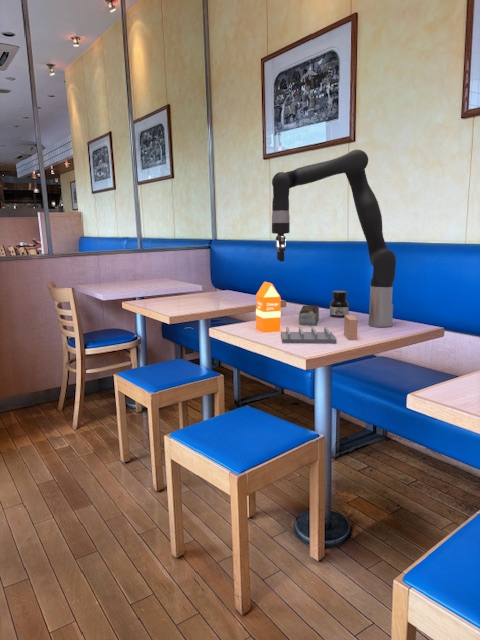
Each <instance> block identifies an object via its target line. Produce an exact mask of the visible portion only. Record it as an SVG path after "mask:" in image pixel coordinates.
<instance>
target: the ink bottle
mask: <svg viewBox="0 0 480 640" xmlns="http://www.w3.org/2000/svg"><path fill="white" fill-rule="evenodd" d="M347 299H348V291H346V290H332V301H330V302H329V316H330V317H331V318H344V317H345V315H350V314H349V313H350V312H349V310H350V304H349V302H348V301H347Z"/></svg>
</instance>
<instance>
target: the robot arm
mask: <svg viewBox="0 0 480 640" xmlns="http://www.w3.org/2000/svg"><path fill="white" fill-rule="evenodd" d="M368 163H369V157H368V154H367V153H366V152H365V151H364V150H362V149H353V150H351V151H349V152H348V153H346V154H344V155H342V156H339V157H336V158H333V159H329V160H326V161H321V162H317V163H313V164H308V165H304V166H302V167H298V168H296V169H293V170H290V171H286V172H284V171H279V172H277V173H276V174H275V175H273V177H272V180H271V185H272V203H271V204H272V209H271V210H272V212H271V233H272V234H277V235H276V237H275V247H276V248H275V249H276V260H277V261H279V262H285V252H286V247H287V246H286V241H287V238H286V236H285V235H286V234H290V229H291V228H290V224H291V223H290V222H291V221H290V218H291V215H290V200H289V197H290V189H291V188H294V187H297V186H304V185H307V184H312V183H315V182H317V181H321V180H323V179H326V178H330V177H332V176H336V175H341V174H345V176H346V179H347V181H348V184H349V185H350V189H351V193H352V198H353V202H354V206H355V210H356V214H357V217H358V221H359V224H360V227H361V230H362V232H363V235H364V238H365V240H366V241H365V242H366V246H367V250H368V256H369V262H370V264H371V266H372V267H373V268H372V277H371V279H370V287H369V288H370V289H369V290H370V293H369V309H368V325H369V326H370V327H375V328H388V327H393V314H394V313H393V312H394V304H393V285H394V281H395V278H396V265H397V258H396V254H395V253H394V252H393V251H392V250H390V249H388V246H387V243H386V241H385V238H384V233H383V218H382V217H383V216H382V211H381V209H380V206H379V201H378V199H377V198H376V197H377V196H376V195H375V193H374V191H373V190H372V188H371V186H370V185H369V182H368V178H367V173H366V168H367V166H368Z"/></svg>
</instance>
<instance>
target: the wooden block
mask: <svg viewBox="0 0 480 640" xmlns="http://www.w3.org/2000/svg"><path fill="white" fill-rule="evenodd" d="M343 318H344V323H343V335H344V337H346V339H347V340H348V341H358V319H357V317H355V316H354V315H353V314H348V315H345V317H343Z"/></svg>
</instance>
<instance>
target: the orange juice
mask: <svg viewBox="0 0 480 640" xmlns="http://www.w3.org/2000/svg"><path fill="white" fill-rule="evenodd" d="M281 302H282V299H281V295H280V294H279V293H278V290H276V288H275V285H274V284H273V283H271V282H267V281H264V282H263V283H262V285H261V286H260V288H259V290H258V291H257V293H256V294H255V329H256V330H257V331H260V332H262V334H263V333H277V332H281Z"/></svg>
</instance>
